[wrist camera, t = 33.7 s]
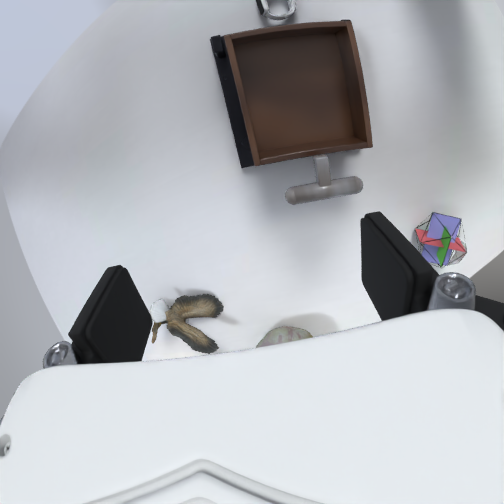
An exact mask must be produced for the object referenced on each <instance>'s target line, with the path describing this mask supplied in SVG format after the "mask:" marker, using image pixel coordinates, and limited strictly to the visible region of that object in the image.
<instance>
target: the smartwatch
mask: <svg viewBox="0 0 504 504" xmlns="http://www.w3.org/2000/svg"><path fill="white" fill-rule="evenodd" d="M256 2H257V5H258V8H259V11H260V14H261V15H262V16H265V17H267V18H270V19H273V20H283V19H286V18H288V17H289V16H291V15H292V14H293V13H294V11H295V10H296V7H295V6H296V0H287V2H288V5H289V9H290V10H289V12H288V13H285V14H282V15H280V16H278V15H274V14H272V13H270V12H269V7H268V4H267V1H266V0H256Z"/></svg>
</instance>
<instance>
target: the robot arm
mask: <svg viewBox="0 0 504 504" xmlns="http://www.w3.org/2000/svg"><path fill="white" fill-rule="evenodd" d="M361 258H362V282H363V285H364V287H365V289H366V291H367V293H368V295H369V297H370V299H371V300H372V302H373V304H374V306H375V308H376V310H377V312H378V314H379V316H380V318H381V320H382V321H380V322H376V323H372V324H368V325H364V326H360V327H356V328H352V329H348V330H344V331H340V332H335V333H331V334H326V335H322V336H317V337H312V338H307V339H302V340H297V341H292V342H287V343H282V344H276V345H270V346H265V347H259V348H252V349H246V350H240V351H233V352H226V353H218V354H210V355H202V356H194V357H185V358H175V359H164V360H152V361H142V357H143V354H144V350H145V347H146V344H147V340H148V337H149V334H150V330H151V327H152V317H151V315H150V313H149V311H148V309H147V307H146V306H145V304H144V302H143V300H142V298H141V296H140V294H139V292H138V290H137V288H136V286H135V284H134V282H133V280H132V278H131V276H130V274H129V272H128V270H127V269H126V268H123V267H122V266H121V265H117V266H113V267H109V268H107V269H106V271H105V272H104V274H103V276H102V277H101V279H100V280H99V282H98V284H97V285H96V287H95V288H94V290H93V292H92V293H91V295H90V297H89V298H88V300H87V302H86V304H85V305H84V307H83V309H82V310H81V312H80V314H79V316H78V317H77V319H76V321H75V323H74V325H73V326H72V328H71V330H70V332H69V334H68V335H69V337H70V338H71V339H72V341H73V342H72V344H70V343H69V342H67V341H62V342H58V343H56V344H55V345H53V346H52V347H51V348H50V349H49V350H48V351H47V352H46V354H45V356H44V359H43V368H44V369H43V370H40V371H38V372H35V373H33V374H32V375H30V376H28V377H27V378H26V379H24V380H23V381H22V382H21V384H20V385H19V387H18V389H17V390H16V392H15V393H14V395H13V398H12V400H11V402H10V404H9V406H8V408H7V410H6V413H5V415H4V416H3V417H2V418H1V420H0V504H504V303H501V302H497V301H494V300H490V299H487V298H483V297H480V296H477V295H476V289H475V285H474V283H473V282H472V281H471V280H470V279H469V278H468V277H466V276H464V275H462V274H459V273H454V272H449V273H444V274H441V275H439V274H438V273H437V272H436V271H435V270H434V268H433V267H432V266H431V265H430V264H429V263H428V262H427V260H426V259H425V258H424V257H423V256H422V255H421V254H420V253H419V252H418V250H417V249H416V248H415V247H414V246H413V245H412V244H411V243H410V242H409V241H408V240H407V239H406V238H405V237H404V236H403V234H402V233H401V232H400V231H399V230H398V229H397V228H396V227H395V226H394V225H393V224H392V223H391V222H390V221H389V220H388V219H387V218H386V217H385V216H384V215H383V214H382V213H381V212H373V213H368V214H365V217H364V218H362V219H361Z"/></svg>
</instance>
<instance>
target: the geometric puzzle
mask: <svg viewBox="0 0 504 504" xmlns="http://www.w3.org/2000/svg"><path fill="white" fill-rule="evenodd" d="M430 215H431V214H430ZM430 215H429V216H430ZM429 216H428V217H429ZM431 217H432V218H430V219H431V222H430V220H429V221H428V222H430V226H429V230H428V231H426V230H420V229H416V228H415V230H416V233H417V235H416V236H418V239H419V243H420V244H421V243H423V244H425V245H424V246H423V245H422V244H421V245H422V246H423V247H424V248H423V252H422V256H423V257H424V258H425V259H426V260H427V262H431V263H437V264H438V265H439V264H440V265H441V266H440V265H439V266H440V268H441V269H442V268H443V267H442V266H443V265H445V266H446V265H447V266H448V265H451V264H456V263H459V262H460V261H461V260H462V258H463V257H464V256H465V254H466V253H467V249H466V243H465V244H464V243H463V242H462V241H461V240H460V239H459V236H457V233H458V229H459V226H461V223H460V222H461V220H462V218H461V219H460V218H456V217H451V216H447V215H443V214H438V213H434V212H432V215H431ZM426 223H427V222H426ZM424 224H425V223H424ZM428 224H429V223H428ZM422 225H423V224H422ZM418 226H419V225H418ZM418 226H417V228H418ZM420 226H421V225H420ZM420 226H419V227H420ZM462 226H463V225H462ZM427 227H428V225H427ZM427 227H426V229H427ZM459 232H460V230H459ZM463 232H464V231H463ZM456 236H457V237H456ZM464 238H465V237H464ZM417 243H418V241H417ZM418 250H419V248H418ZM452 250H453V251H454V250H456V251H455V254H454V256H453V257H452V259H451V260H450V259H449V258H451V257H450V255H451V256H452V254H451V252H452ZM452 253H453V252H452ZM449 260H450V262H449ZM429 264H430V263H429ZM434 266H435V265H434ZM437 267H438V266H437Z"/></svg>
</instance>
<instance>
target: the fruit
mask: <svg viewBox="0 0 504 504" xmlns="http://www.w3.org/2000/svg"><path fill="white" fill-rule="evenodd" d="M312 337H313V336H312V335H311V334H310V333H309V332H308V331H306V330H303V329H299V328H294V327H288V326H282V327H279V328H276V329H274V330H271V331H270V332H269V333H268V334H267V335H266V336H265V337H264V338H263V339H262V340H261V341H260V342H259V343H258V345H257V346H256V348H259V347H265V346H270V345H276V344H282V343H287V342H292V341H297V340H302V339H307V338H312Z"/></svg>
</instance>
